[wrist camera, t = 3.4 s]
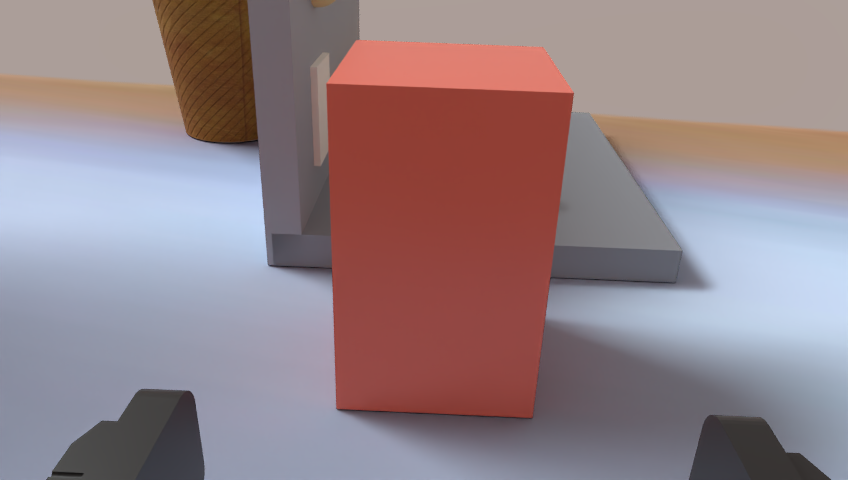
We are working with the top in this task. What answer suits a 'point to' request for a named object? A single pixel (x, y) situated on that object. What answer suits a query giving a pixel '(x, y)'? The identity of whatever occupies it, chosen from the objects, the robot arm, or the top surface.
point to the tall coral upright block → (443, 223)
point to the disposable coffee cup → (211, 66)
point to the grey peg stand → (309, 158)
